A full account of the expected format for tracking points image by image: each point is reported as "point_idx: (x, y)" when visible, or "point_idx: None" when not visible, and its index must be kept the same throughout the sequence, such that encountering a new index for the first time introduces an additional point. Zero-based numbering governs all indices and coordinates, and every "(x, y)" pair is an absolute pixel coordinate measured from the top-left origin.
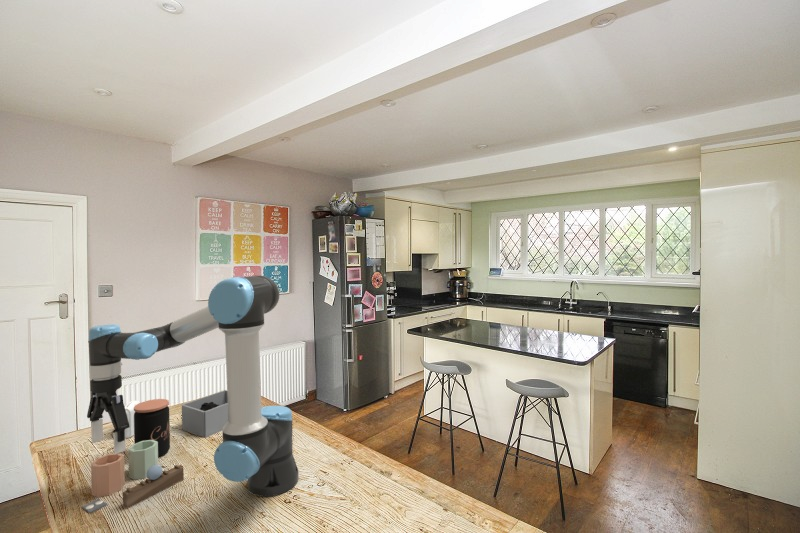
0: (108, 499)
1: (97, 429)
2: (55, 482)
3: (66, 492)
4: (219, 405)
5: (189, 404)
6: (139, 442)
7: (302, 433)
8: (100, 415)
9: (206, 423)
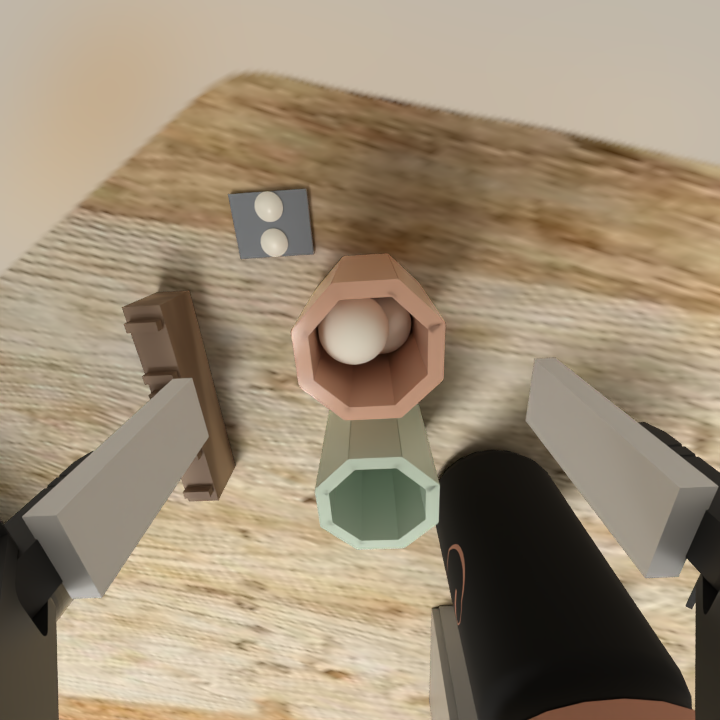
0: (285, 277)
1: (589, 454)
2: (654, 191)
3: (504, 192)
4: None
5: None
6: (432, 510)
7: (209, 706)
8: (702, 634)
9: (441, 668)
